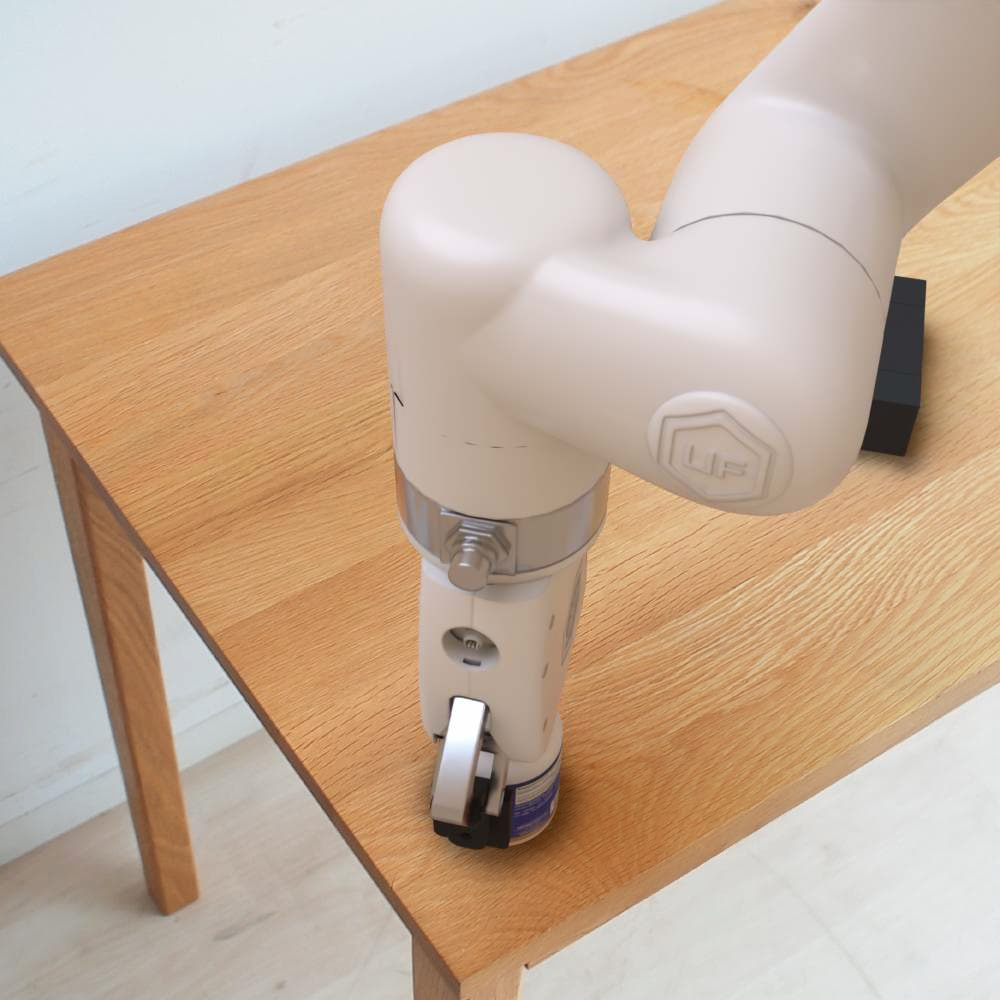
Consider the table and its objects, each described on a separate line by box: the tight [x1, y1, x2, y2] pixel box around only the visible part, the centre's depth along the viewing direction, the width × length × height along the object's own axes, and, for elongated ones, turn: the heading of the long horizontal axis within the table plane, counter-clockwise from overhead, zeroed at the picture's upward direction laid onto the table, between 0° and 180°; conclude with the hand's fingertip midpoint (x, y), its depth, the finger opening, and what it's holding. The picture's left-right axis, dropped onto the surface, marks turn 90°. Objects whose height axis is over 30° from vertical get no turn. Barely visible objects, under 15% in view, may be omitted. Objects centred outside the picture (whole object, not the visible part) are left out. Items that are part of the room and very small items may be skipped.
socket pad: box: [860, 275, 928, 457], centre depth 85 cm, size 11×11×4 cm
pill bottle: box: [475, 710, 564, 847], centre depth 64 cm, size 5×5×9 cm
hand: (498, 739), depth 63 cm, fingers open, 9 cm apart
